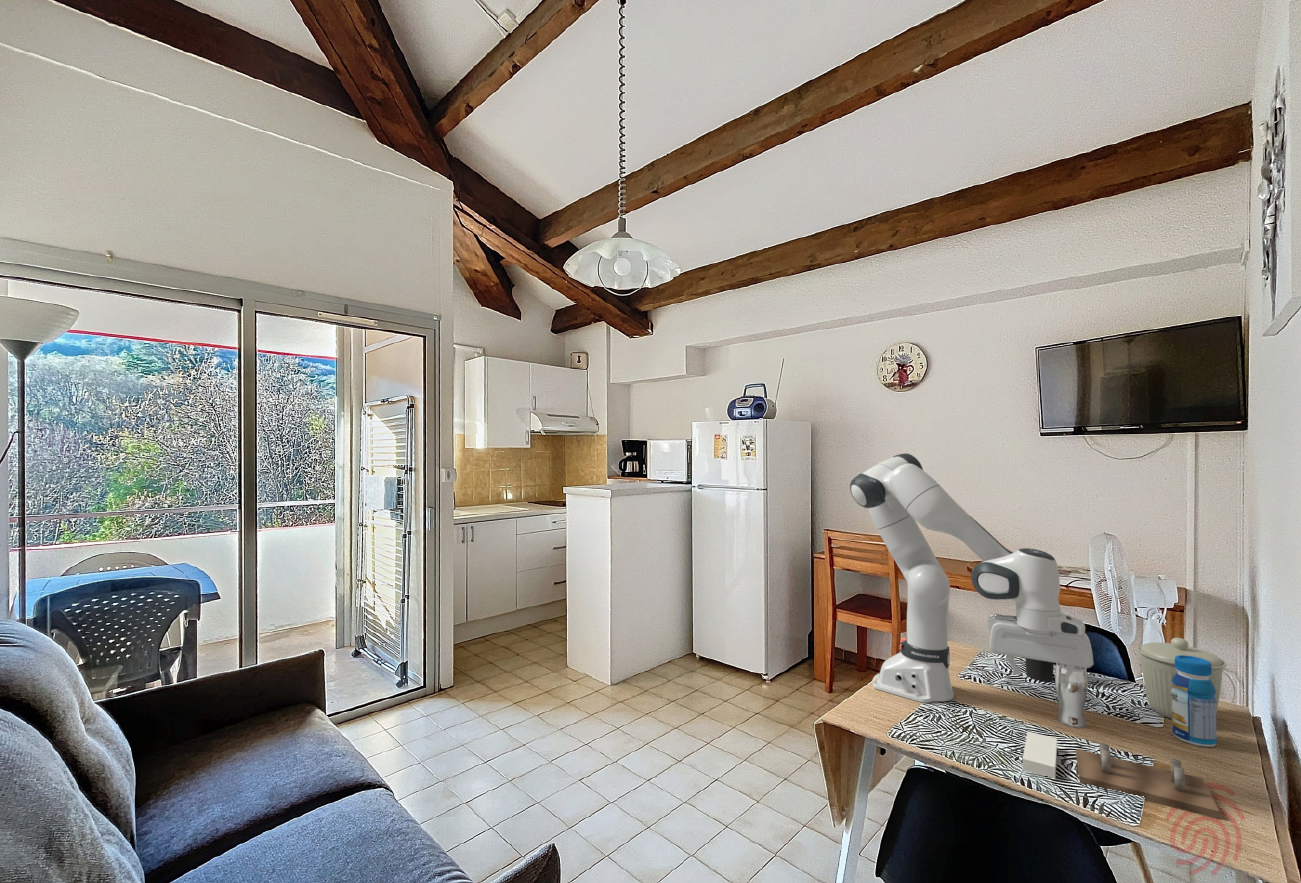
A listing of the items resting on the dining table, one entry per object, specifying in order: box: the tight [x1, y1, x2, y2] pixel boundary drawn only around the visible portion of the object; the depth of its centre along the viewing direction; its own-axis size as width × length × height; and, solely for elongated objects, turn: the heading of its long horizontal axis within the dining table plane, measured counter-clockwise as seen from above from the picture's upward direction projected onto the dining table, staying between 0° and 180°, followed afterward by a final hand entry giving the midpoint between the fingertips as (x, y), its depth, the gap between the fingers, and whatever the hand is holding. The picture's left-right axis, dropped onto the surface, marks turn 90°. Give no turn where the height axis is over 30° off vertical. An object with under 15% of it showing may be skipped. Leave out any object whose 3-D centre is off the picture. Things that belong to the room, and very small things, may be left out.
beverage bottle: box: [1171, 655, 1218, 748], centre depth 144 cm, size 8×8×20 cm
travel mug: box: [1025, 658, 1054, 682], centre depth 185 cm, size 8×8×20 cm
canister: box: [1136, 637, 1227, 720], centre depth 158 cm, size 18×18×21 cm
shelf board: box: [1022, 731, 1058, 780], centre depth 135 cm, size 6×16×3 cm, turn 144°
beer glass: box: [1054, 663, 1089, 729], centre depth 153 cm, size 7×7×15 cm
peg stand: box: [1075, 742, 1221, 820], centre depth 125 cm, size 22×14×6 cm, turn 56°
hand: (1040, 678), depth 135 cm, fingers open, 8 cm apart
